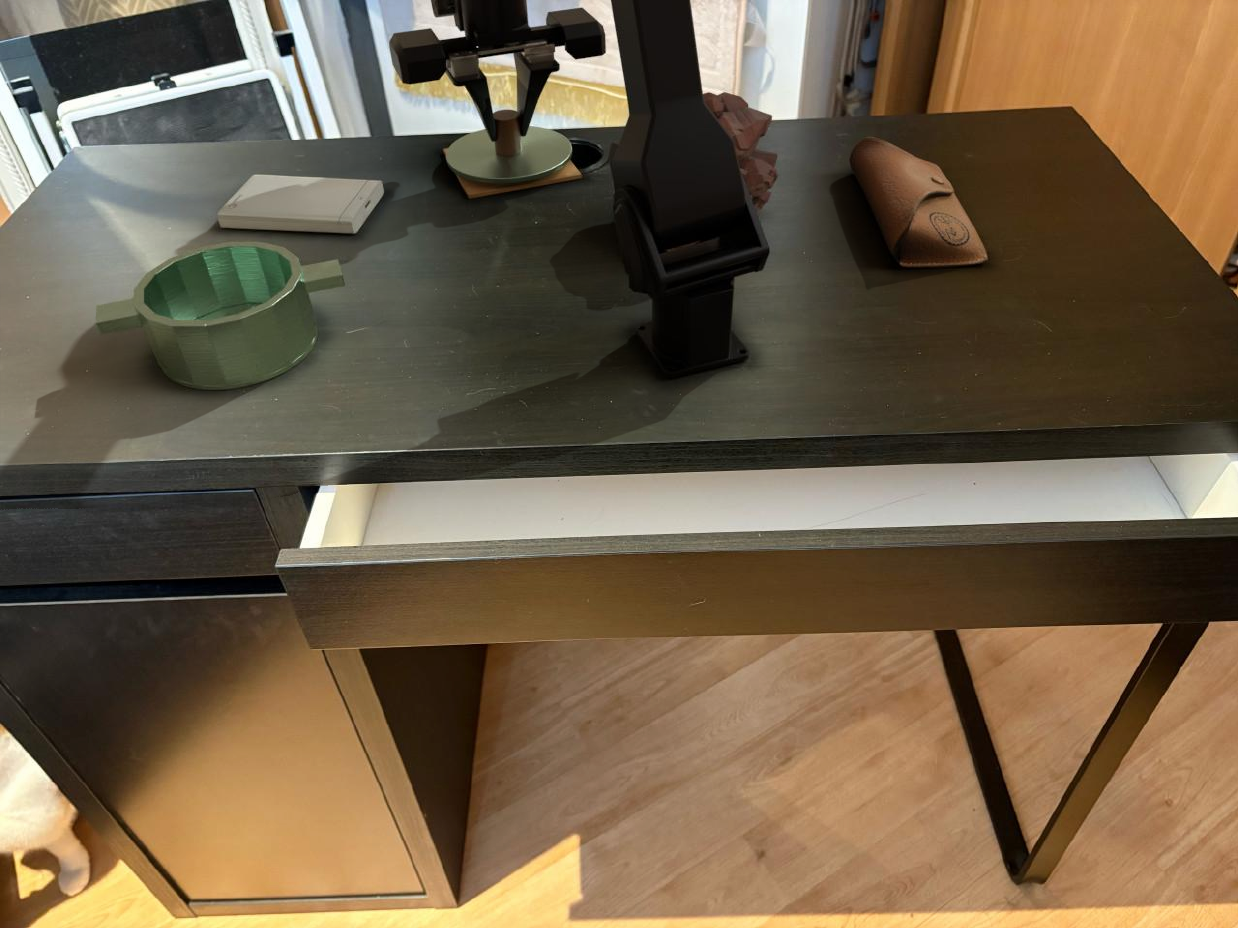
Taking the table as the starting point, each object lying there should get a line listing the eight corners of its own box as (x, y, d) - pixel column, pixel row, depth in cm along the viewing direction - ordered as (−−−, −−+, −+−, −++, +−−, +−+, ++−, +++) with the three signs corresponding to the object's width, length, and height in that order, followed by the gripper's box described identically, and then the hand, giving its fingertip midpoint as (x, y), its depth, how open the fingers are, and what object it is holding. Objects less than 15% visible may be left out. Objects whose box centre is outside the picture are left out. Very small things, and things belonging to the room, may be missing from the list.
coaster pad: (581, 178, 91) (581, 174, 91) (469, 199, 88) (468, 195, 88) (547, 135, 99) (547, 131, 99) (443, 152, 96) (442, 149, 96)
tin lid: (589, 176, 91) (587, 128, 87) (463, 199, 88) (456, 150, 85) (551, 128, 99) (548, 83, 96) (435, 147, 96) (428, 102, 93)
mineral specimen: (626, 271, 87) (758, 184, 89) (682, 293, 76) (832, 194, 78) (564, 155, 82) (706, 65, 84) (614, 160, 71) (778, 57, 72)
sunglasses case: (997, 259, 77) (970, 194, 73) (914, 301, 79) (884, 240, 75) (936, 164, 90) (910, 104, 87) (866, 201, 93) (838, 145, 89)
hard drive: (215, 213, 84) (350, 218, 82) (254, 172, 90) (381, 176, 89) (221, 230, 85) (354, 236, 84) (259, 189, 91) (384, 193, 90)
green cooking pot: (365, 360, 70) (349, 296, 66) (118, 414, 65) (88, 349, 62) (342, 284, 78) (327, 223, 74) (122, 328, 74) (95, 266, 70)
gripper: (564, -74, 89) (574, 94, 100) (364, -51, 85) (395, 122, 95) (604, -45, 81) (610, 134, 92) (386, -18, 77) (418, 167, 87)
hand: (507, 137), depth 92 cm, fingers closed on tin lid, 3 cm apart
